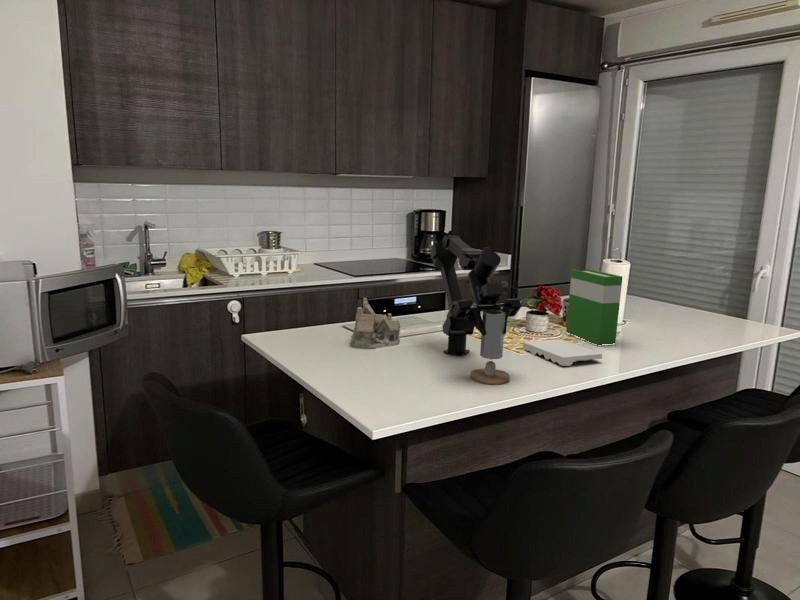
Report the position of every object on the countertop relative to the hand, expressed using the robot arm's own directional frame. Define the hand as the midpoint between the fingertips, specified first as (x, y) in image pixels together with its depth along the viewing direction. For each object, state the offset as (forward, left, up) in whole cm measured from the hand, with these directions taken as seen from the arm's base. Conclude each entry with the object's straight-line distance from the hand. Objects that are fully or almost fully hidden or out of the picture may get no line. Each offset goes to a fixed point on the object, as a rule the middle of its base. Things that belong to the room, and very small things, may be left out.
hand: (494, 334), depth 161 cm
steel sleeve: (-1, -1, -7) cm, 7 cm away
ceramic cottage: (-11, -47, -13) cm, 50 cm away
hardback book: (-64, +10, -13) cm, 66 cm away
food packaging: (-36, +8, -14) cm, 39 cm away
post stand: (-1, -1, -13) cm, 13 cm away
